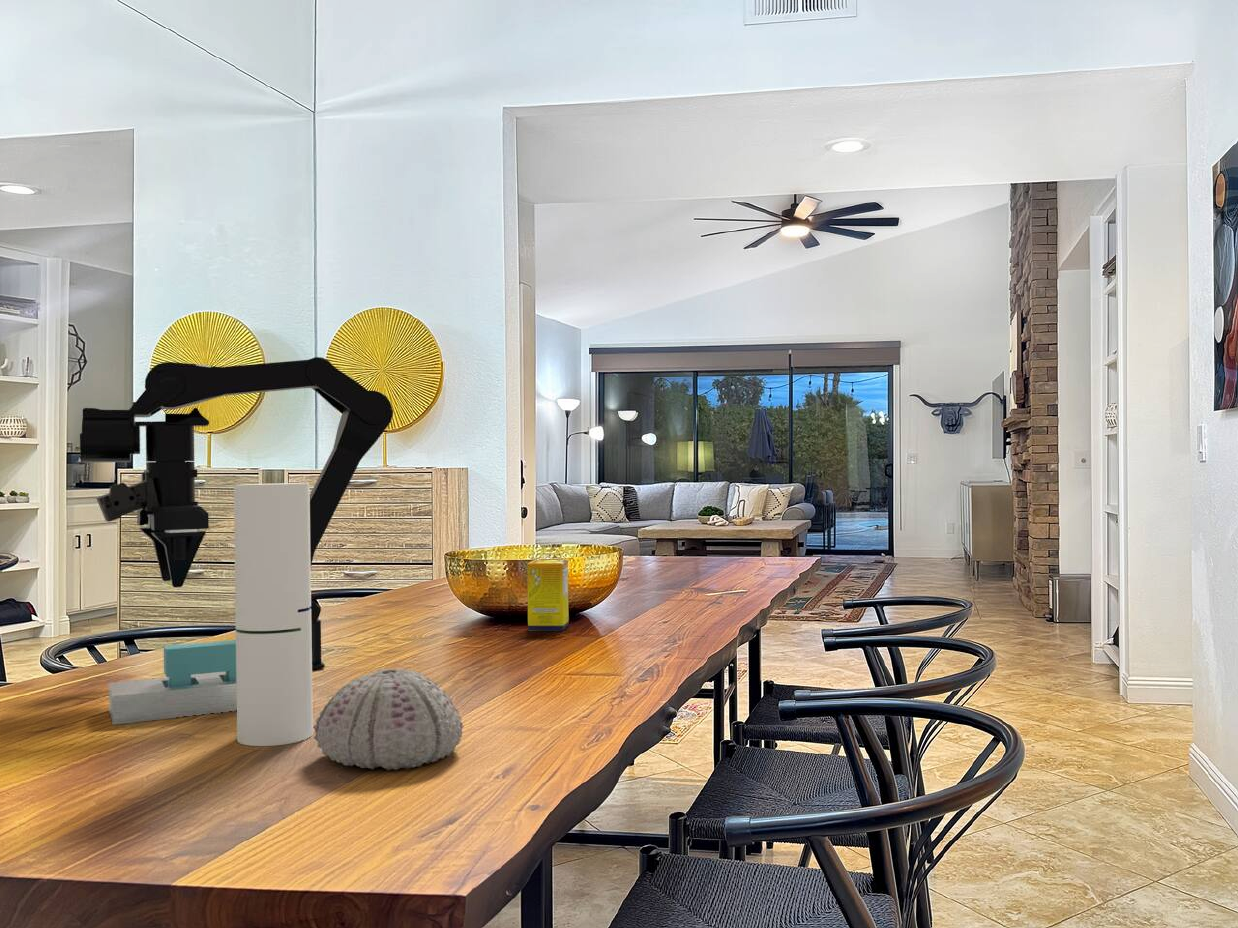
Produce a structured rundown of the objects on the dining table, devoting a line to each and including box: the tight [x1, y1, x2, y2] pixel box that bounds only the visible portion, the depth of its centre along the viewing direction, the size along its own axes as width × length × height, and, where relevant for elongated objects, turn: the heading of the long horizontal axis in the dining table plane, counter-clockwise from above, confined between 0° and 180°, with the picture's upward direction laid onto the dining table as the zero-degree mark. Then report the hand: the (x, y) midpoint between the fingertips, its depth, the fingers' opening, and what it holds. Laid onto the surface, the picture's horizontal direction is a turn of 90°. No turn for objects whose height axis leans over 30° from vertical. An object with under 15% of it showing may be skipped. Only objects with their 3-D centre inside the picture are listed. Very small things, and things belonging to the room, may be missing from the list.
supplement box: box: [526, 559, 570, 632], centre depth 176 cm, size 6×6×11 cm
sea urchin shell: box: [313, 668, 465, 771], centre depth 98 cm, size 13×14×8 cm
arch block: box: [163, 639, 236, 687], centre depth 120 cm, size 9×3×7 cm, turn 118°
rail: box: [108, 672, 237, 726], centre depth 120 cm, size 20×8×3 cm, turn 118°
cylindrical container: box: [233, 482, 314, 747], centre depth 106 cm, size 7×7×25 cm
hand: (172, 583), depth 137 cm, fingers open, 9 cm apart
